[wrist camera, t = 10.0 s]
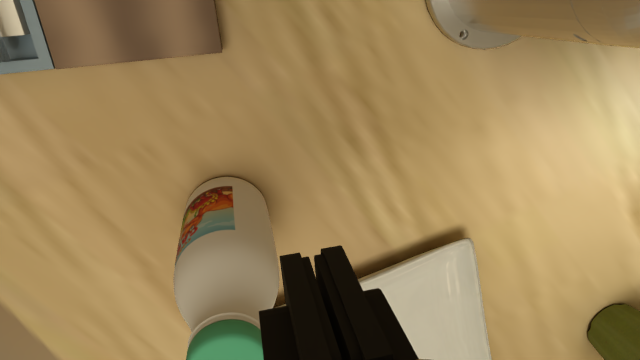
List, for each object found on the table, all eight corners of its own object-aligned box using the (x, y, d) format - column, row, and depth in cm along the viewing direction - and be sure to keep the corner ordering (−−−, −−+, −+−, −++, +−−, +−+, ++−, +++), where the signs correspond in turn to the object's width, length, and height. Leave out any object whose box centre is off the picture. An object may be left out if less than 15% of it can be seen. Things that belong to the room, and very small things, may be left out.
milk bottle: (263, 169, 41) (294, 302, 23) (270, 240, 44) (302, 407, 26) (179, 179, 40) (140, 327, 21) (192, 251, 43) (167, 435, 24)
